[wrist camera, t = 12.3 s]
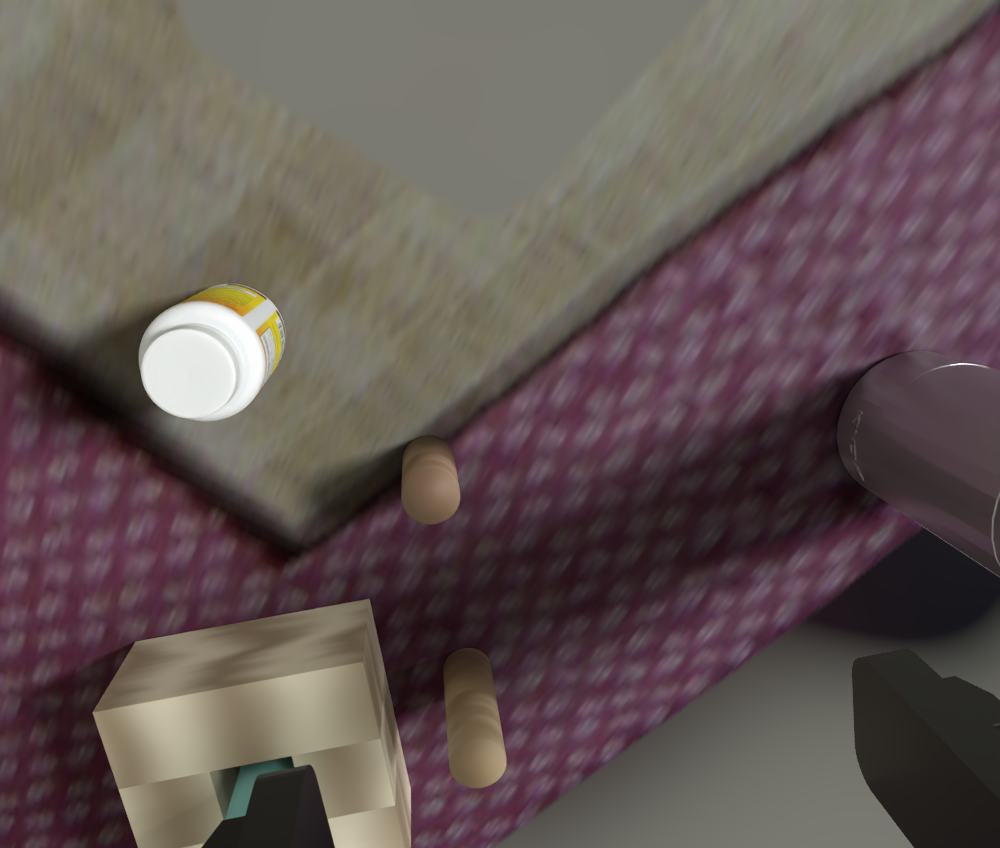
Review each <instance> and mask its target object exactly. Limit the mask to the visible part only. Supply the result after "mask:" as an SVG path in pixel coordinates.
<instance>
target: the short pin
mask: <svg viewBox="0 0 1000 848" xmlns="http://www.w3.org/2000/svg"><path fill="white" fill-rule="evenodd" d="M401 500H402V505H403V507H404V510H405V511H406V513H407V514H408V515H409V516H410V517H411V518H412V519H414V520H415V521H417V522H420V523H423V524H437V523H441V522H443V521H445V520H447V519H448V518H450V517H451V516H452V515H453V514H454V513H455V511H456V510H457V508H458V506H459V502H460V490H459V483H458V477H457V471H456V465H455V458H454V453H453V451H452V449H451V447H450V446H449V444H448V443H447V442H446V441H444V440H443V439H441V438H439V437H436V436H421V437H419V438H416V439H414V440H413V441H412V442H411V443H409V445H408V446H407V447H406V449H405V451H404V454H403V462H402V493H401Z"/></svg>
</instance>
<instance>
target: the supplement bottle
mask: <svg viewBox="0 0 1000 848" xmlns="http://www.w3.org/2000/svg"><path fill="white" fill-rule="evenodd" d="M285 346H286V330H285V325H284V322H283V319H282V317H281V315H280V313H279V311H278V310H277V308H276V307H275V305H274V304H273V303H272V302H271V301H270V300H269V299H268V298H267V297H266V296H264V295H263V294H261V293H260V292H258V291H256V290H254V289H252V288H250V287H247V286H243V285H239V284H221V285H216V286H213V287H210V288H207V289H205V290H203V291H201V292H199V293H198V294H196V295H194V296H192V297H190V298H188V299H186V300H184V301H182V302H180V303H178V304H176V305H174V306H172V307H171V308H169V309H167V310H166V311H164V312H163V313H161V314H160V315H159V316H158V317H156V318H155V319H154V320H153V321H152V323H151V324H150V325H149V326H148V328H147V330H146V331H145V333H144V335H143V337H142V340H141V344H140V348H139V368H140V373H141V378H142V383H143V385H144V388H145V390H146V392H147V394H148V395H149V397H150V398H151V399H152V401H153V402H154V403H155V404H156V405H157V406H159V407H160V408H161V409H162V410H164V411H166V412H167V413H170V414H172V415H174V416H177V417H181V418H186V419H190V420H195V421H216V420H221V419H225V418H227V417H230V416H232V415H234V414H236V413H238V412H240V411H241V410H242V409H244V408H245V407H246V406H247V405H248V404H249V403H250V402H251V401H252V400H253V399H254V398H255V397H256V395H257V394H258V392H259V391H260V390H261V388H262V387H263V385H264V384H265V383H266V381H267V380H268V378H269V377H270V376H271V374H272V373H273V371H274V370H275V368H276V367H277V366H278V364H279V363H280V361H281V358H282V356H283V354H284V350H285Z"/></svg>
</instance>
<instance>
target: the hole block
mask: <svg viewBox="0 0 1000 848" xmlns="http://www.w3.org/2000/svg"><path fill="white" fill-rule="evenodd" d="M93 716H94V718H95V721H96V724H97V727H98V730H99V733H100V736H101V739H102V742H103V745H104V748H105V751H106V754H107V757H108V760H109V763H110V766H111V769H112V772H113V775H114V778H115V781H116V784H117V787H118V790H119V793H120V795H121V798H122V801H123V804H124V807H125V810H126V813H127V816H128V819H129V822H130V825H131V828H132V831H133V834H134V837H135V840H136V843H137V846H138V848H201V847H202V846H203V845H204V844H205V842H206V841H207V840H208V838H209V837H210V836H211V834H212V833H213V832H214V831H215V829H216V828H217V827H218V825H219V824H220V823H221V821H222V820H225V818H226V814H227V811H228V808H229V804H230V801H231V797H232V794H233V791H234V787H235V784H236V781H237V777H238V774H239V770H240V767H241V766H242V765H247V764H253V763H258V762H263V761H268V760H273V759H279V758H284V757H289V756H292V760H293V763H294V767H299V766H304V765H309V764H310V765H311V766H312V767H313V769H314V771H315V774H316V777H317V781H318V784H319V788H320V792H321V796H322V800H323V804H324V807H325V811H326V815H327V819H328V823H329V826H330V830H331V834H332V838H333V842H334V846H335V848H411V788H410V783H409V779H408V774H407V769H406V765H405V760H404V756H403V751H402V746H401V742H400V737H399V733H398V728H397V723H396V719H395V714H394V709H393V705H392V700H391V696H390V691H389V686H388V682H387V677H386V673H385V668H384V663H383V659H382V654H381V649H380V645H379V640H378V636H377V631H376V626H375V622H374V617H373V613H372V608H371V603H370V599H365V600H360V601H354V602H349V603H343V604H338V605H332V606H327V607H321V608H316V609H311V610H305V611H300V612H294V613H289V614H283V615H278V616H272V617H267V618H261V619H256V620H251V621H245V622H240V623H234V624H229V625H223V626H218V627H212V628H207V629H201V630H196V631H191V632H185V633H180V634H174V635H169V636H163V637H158V638H152V639H147V640H141V641H136V642H135V643H134V645H133V647H132V648H131V650H130V652H129V653H128V655H127V657H126V658H125V660H124V661H123V663H122V665H121V666H120V668H119V670H118V671H117V673H116V675H115V676H114V678H113V680H112V681H111V683H110V685H109V686H108V688H107V689H106V691H105V693H104V694H103V696H102V698H101V699H100V701H99V703H98V704H97V706H96V708H95V709H94V711H93Z"/></svg>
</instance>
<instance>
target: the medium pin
mask: <svg viewBox="0 0 1000 848" xmlns="http://www.w3.org/2000/svg"><path fill="white" fill-rule="evenodd" d="M443 677H444V692H445V707H446V722H447V737H448V753H449V767H450V772H451V774H452V776H453V778H454V779H455V780H456V781H457V782H458V783H460V784H461V785H463V786H466V787H470V788H482V787H486V786H489V785H491V784H493V783H494V782H496V781H497V780H498V779H499V778H500V777H501V776H502V774H503V773H504V771H505V768H506V754H505V748H504V742H503V736H502V730H501V724H500V718H499V712H498V706H497V700H496V694H495V688H494V682H493V676H492V670H491V664H490V661H489V659H488V657H487V656H486V655H485V654H484V653H483V652H482V651H480V650H478V649H475V648H462V649H459V650H456V651H454V652H453V653H451V654H450V655H449V656H448V657H447V659H446V661H445V663H444V666H443Z"/></svg>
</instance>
